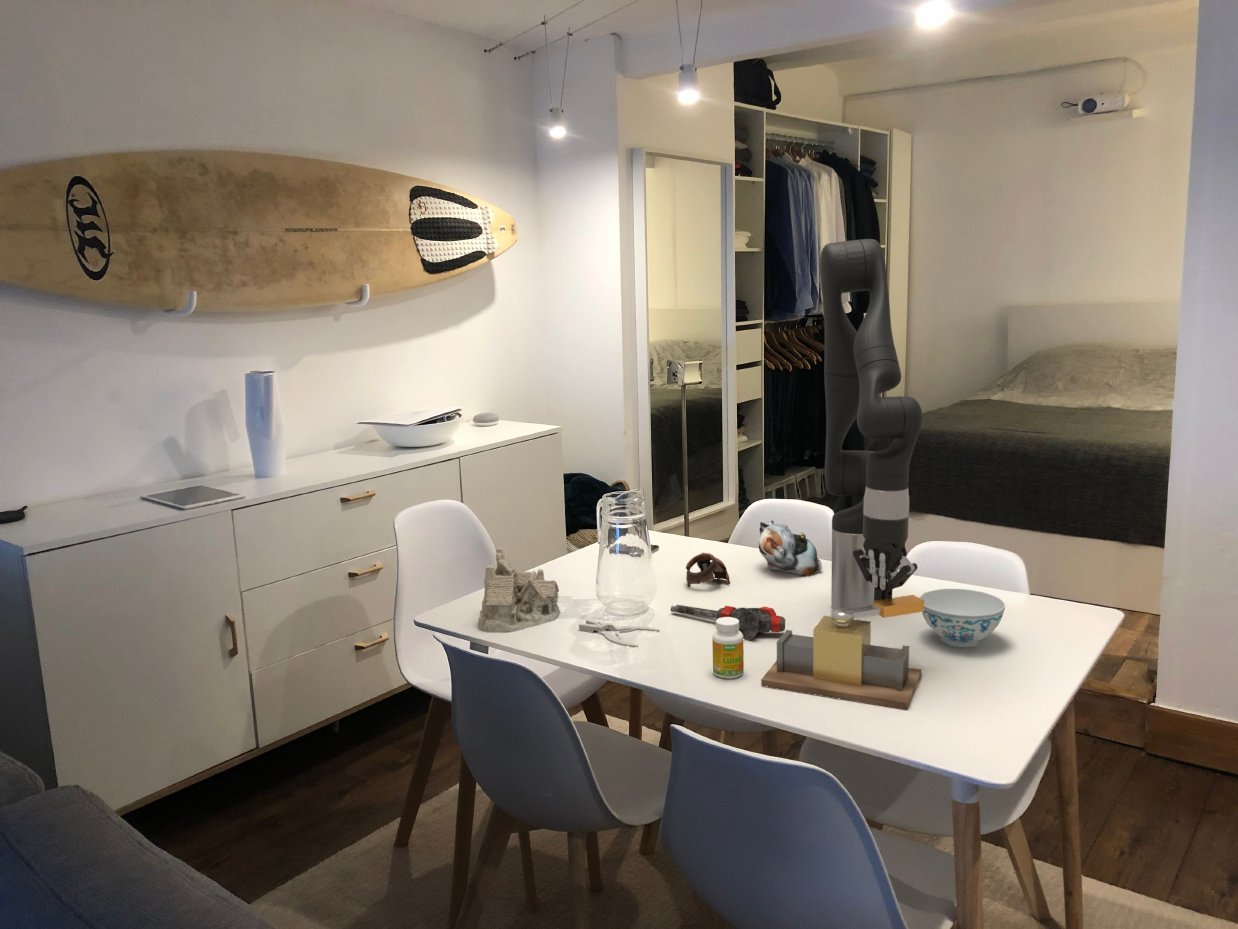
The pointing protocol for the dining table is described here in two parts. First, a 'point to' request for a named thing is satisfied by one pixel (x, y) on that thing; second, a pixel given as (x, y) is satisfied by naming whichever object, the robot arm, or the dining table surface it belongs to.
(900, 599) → the valve lever
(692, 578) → the brown openwork dome
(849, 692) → the walnut board
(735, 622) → the supplement bottle
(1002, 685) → the dining table surface
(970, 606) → the chinaware
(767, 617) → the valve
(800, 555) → the lucky cat figurine
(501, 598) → the ceramic cottage
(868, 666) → the valve and pipe
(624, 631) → the pliers
